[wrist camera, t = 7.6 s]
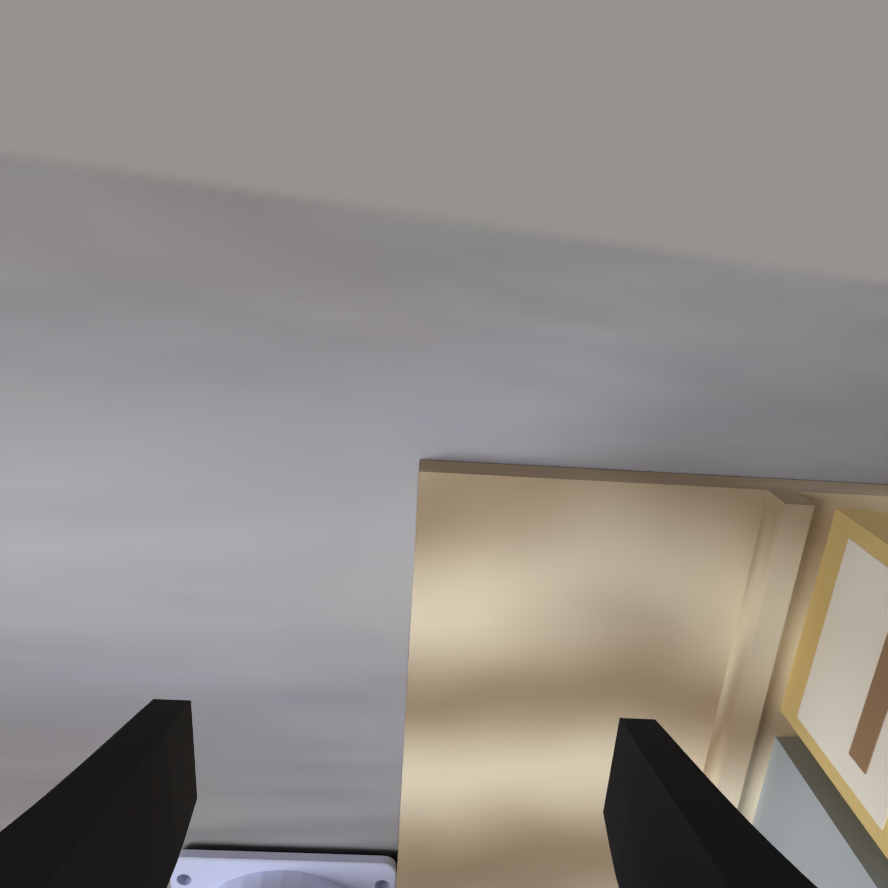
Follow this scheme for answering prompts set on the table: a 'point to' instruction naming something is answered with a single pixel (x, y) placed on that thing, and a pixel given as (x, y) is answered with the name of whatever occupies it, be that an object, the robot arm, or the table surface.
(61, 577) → the table surface
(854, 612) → the ochre carton
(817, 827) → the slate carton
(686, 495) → the beige divided tray
